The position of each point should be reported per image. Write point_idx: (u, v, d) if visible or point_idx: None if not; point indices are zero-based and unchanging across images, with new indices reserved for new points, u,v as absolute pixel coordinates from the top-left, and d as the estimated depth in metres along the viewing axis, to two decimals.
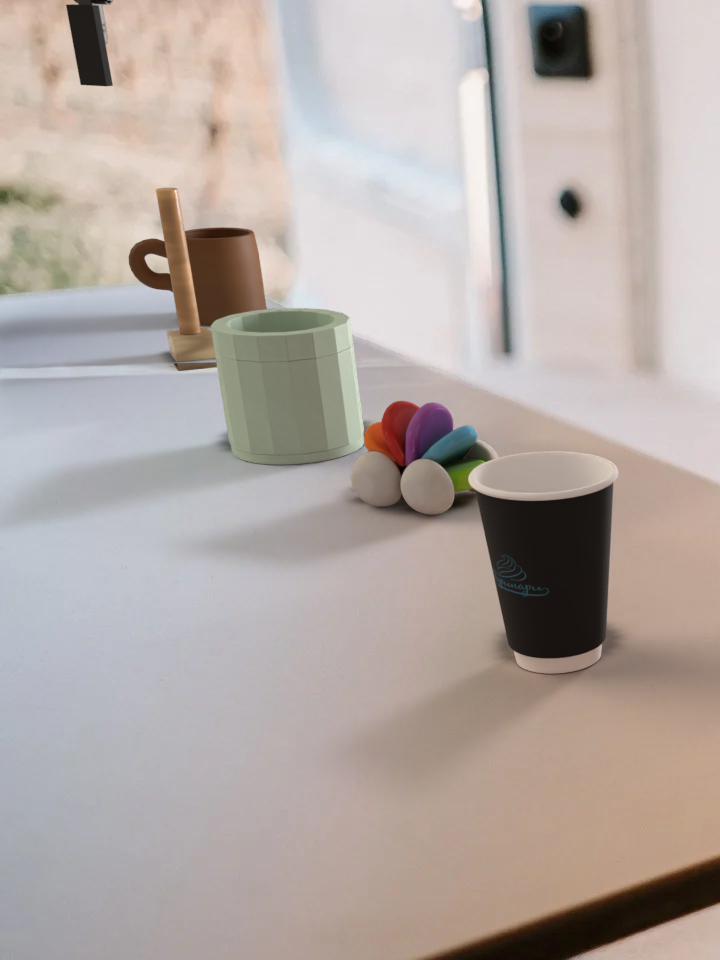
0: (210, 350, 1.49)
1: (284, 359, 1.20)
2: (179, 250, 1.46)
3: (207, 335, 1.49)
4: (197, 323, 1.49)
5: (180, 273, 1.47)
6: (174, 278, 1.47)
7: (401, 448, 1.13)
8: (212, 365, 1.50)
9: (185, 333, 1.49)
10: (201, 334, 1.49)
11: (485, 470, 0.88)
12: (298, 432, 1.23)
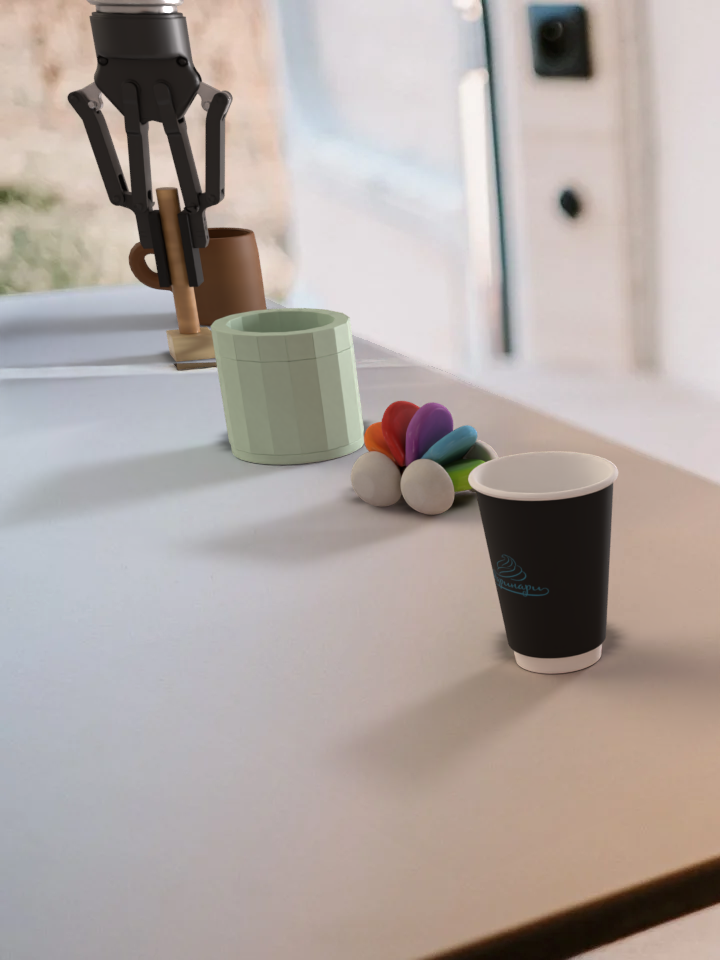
0: (209, 349, 1.49)
1: (284, 359, 1.20)
2: (179, 249, 1.46)
3: (207, 335, 1.49)
4: (197, 323, 1.49)
5: (180, 273, 1.47)
6: (174, 277, 1.47)
7: (401, 448, 1.13)
8: (211, 365, 1.50)
9: (185, 333, 1.49)
10: (201, 334, 1.49)
11: (485, 470, 0.88)
12: (298, 432, 1.23)
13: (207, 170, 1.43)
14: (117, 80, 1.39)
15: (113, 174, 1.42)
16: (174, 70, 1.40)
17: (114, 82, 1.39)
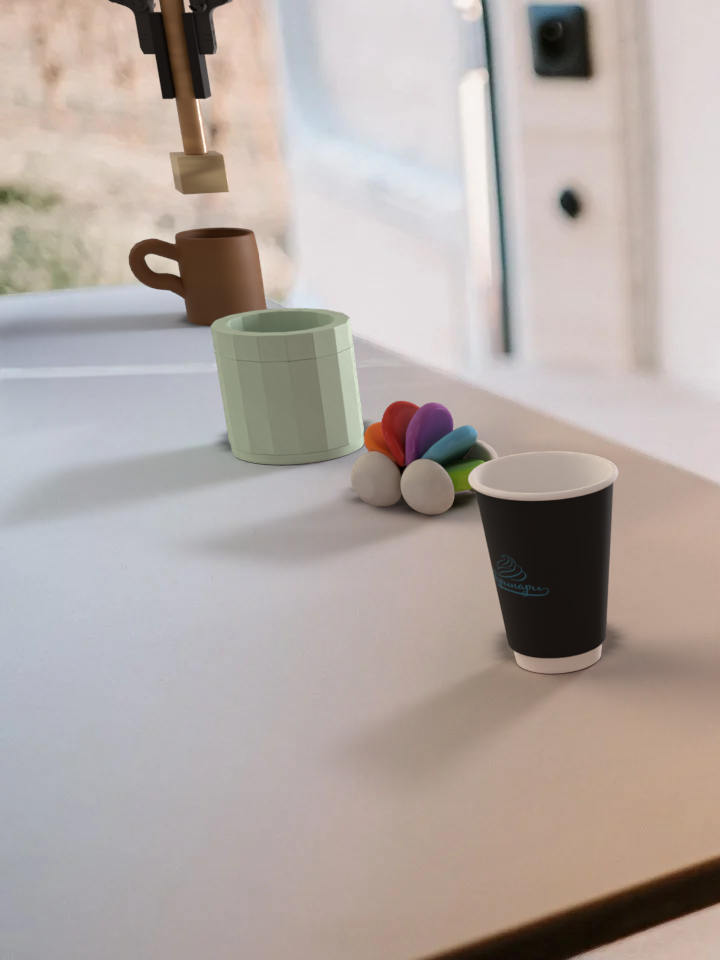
0: (218, 172, 1.34)
1: (284, 359, 1.20)
2: (184, 56, 1.30)
3: (215, 155, 1.33)
4: (204, 142, 1.33)
5: (184, 83, 1.31)
6: (178, 88, 1.31)
7: (401, 448, 1.13)
8: (221, 190, 1.34)
9: (190, 153, 1.33)
10: (208, 154, 1.33)
11: (485, 470, 0.88)
12: (298, 432, 1.23)
13: None
14: None
15: None
16: None
17: None
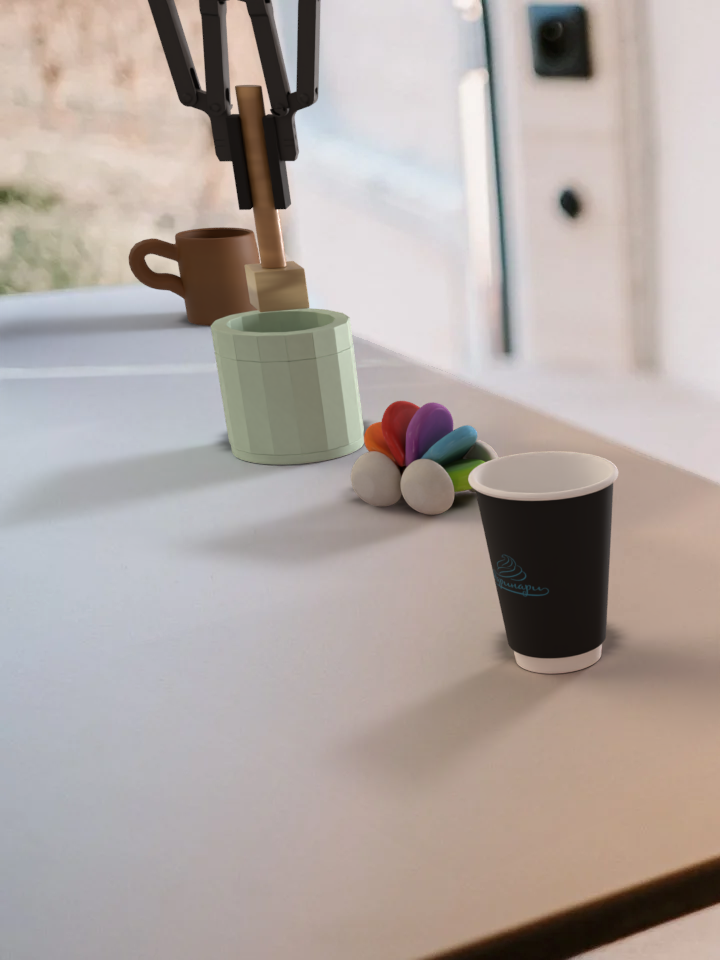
0: (298, 287, 1.22)
1: (284, 359, 1.20)
2: (263, 162, 1.18)
3: (295, 269, 1.21)
4: (283, 254, 1.21)
5: (263, 191, 1.19)
6: (256, 197, 1.19)
7: (401, 448, 1.13)
8: (300, 306, 1.22)
9: (268, 266, 1.21)
10: (287, 268, 1.21)
11: (485, 470, 0.88)
12: (298, 432, 1.23)
13: (299, 62, 1.16)
14: None
15: (184, 66, 1.14)
16: None
17: None
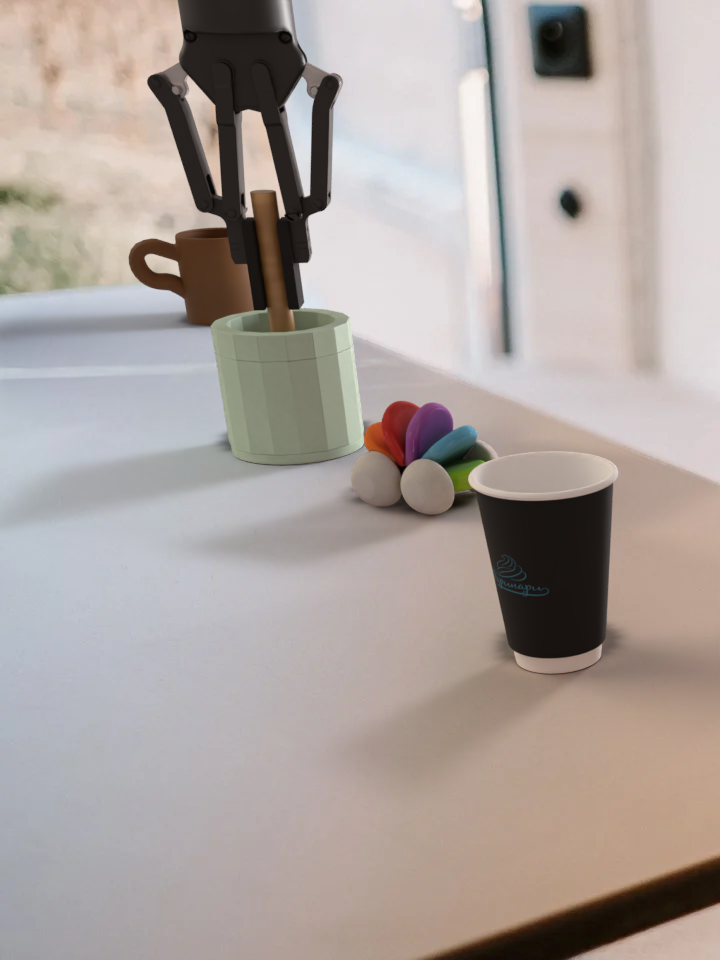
0: None
1: (284, 359, 1.20)
2: (277, 264, 1.21)
3: None
4: None
5: (277, 292, 1.22)
6: (271, 298, 1.22)
7: (401, 448, 1.13)
8: None
9: None
10: None
11: (485, 470, 0.88)
12: (298, 432, 1.23)
13: (313, 169, 1.19)
14: (207, 60, 1.15)
15: (200, 174, 1.17)
16: (275, 48, 1.15)
17: (203, 63, 1.15)
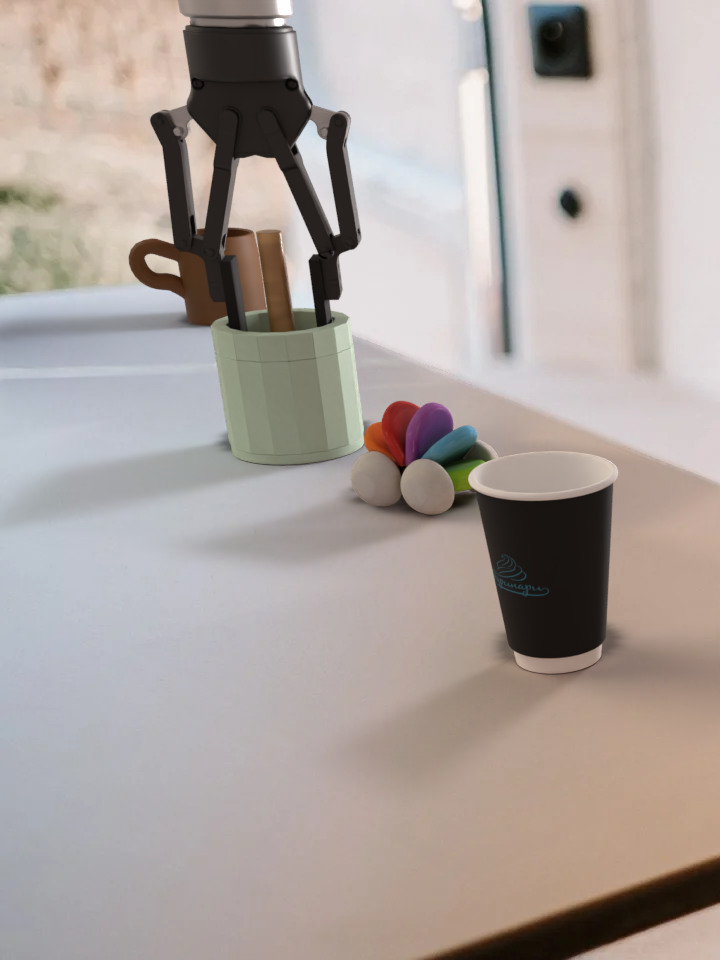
0: None
1: (284, 359, 1.20)
2: (283, 303, 1.22)
3: None
4: None
5: (283, 331, 1.23)
6: None
7: (401, 448, 1.13)
8: None
9: None
10: None
11: (485, 470, 0.88)
12: (298, 432, 1.23)
13: (338, 209, 1.20)
14: (214, 109, 1.16)
15: (185, 215, 1.18)
16: (282, 95, 1.17)
17: (211, 109, 1.16)
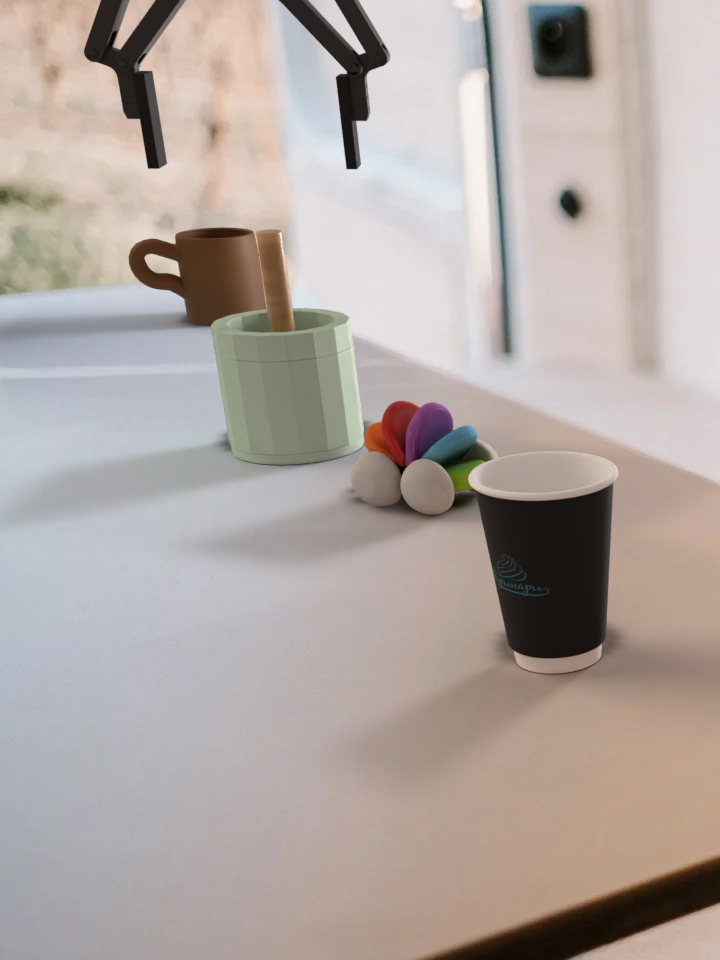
0: None
1: (284, 359, 1.20)
2: (283, 303, 1.22)
3: None
4: None
5: (283, 331, 1.23)
6: None
7: (401, 448, 1.13)
8: None
9: None
10: None
11: (485, 470, 0.88)
12: (298, 432, 1.23)
13: (354, 28, 1.16)
14: None
15: (109, 28, 1.13)
16: None
17: None
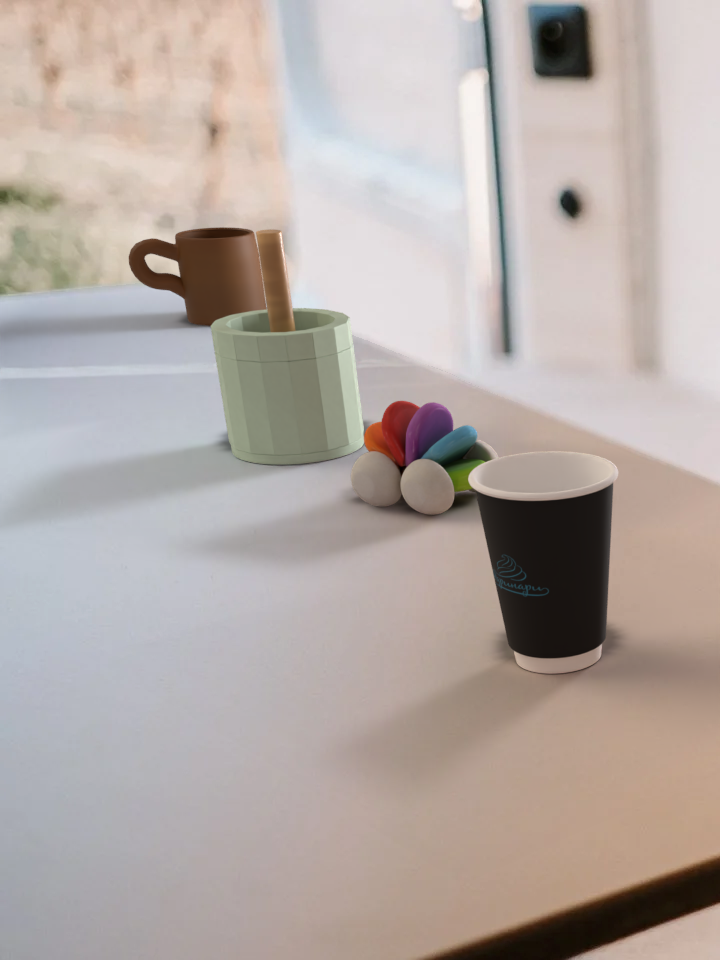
0: None
1: (284, 359, 1.20)
2: (283, 303, 1.22)
3: None
4: None
5: (283, 331, 1.23)
6: None
7: (401, 448, 1.13)
8: None
9: None
10: None
11: (485, 470, 0.88)
12: (298, 432, 1.23)
13: None
14: None
15: None
16: None
17: None
